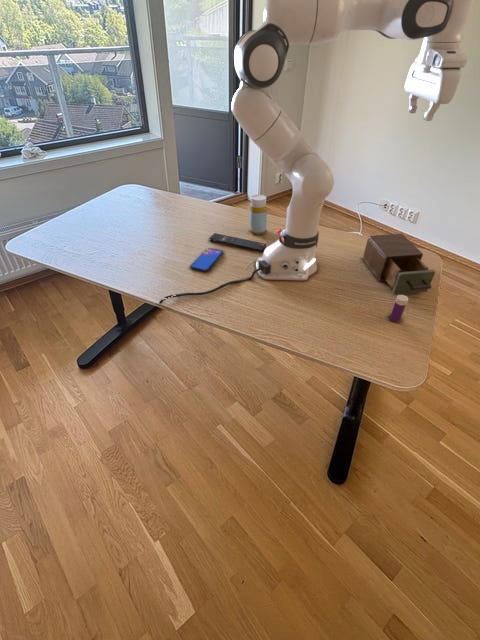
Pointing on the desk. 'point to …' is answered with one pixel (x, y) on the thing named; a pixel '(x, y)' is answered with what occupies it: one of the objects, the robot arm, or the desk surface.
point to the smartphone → (206, 260)
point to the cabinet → (387, 252)
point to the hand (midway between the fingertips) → (419, 116)
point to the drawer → (408, 275)
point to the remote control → (238, 242)
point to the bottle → (258, 214)
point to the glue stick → (398, 308)
